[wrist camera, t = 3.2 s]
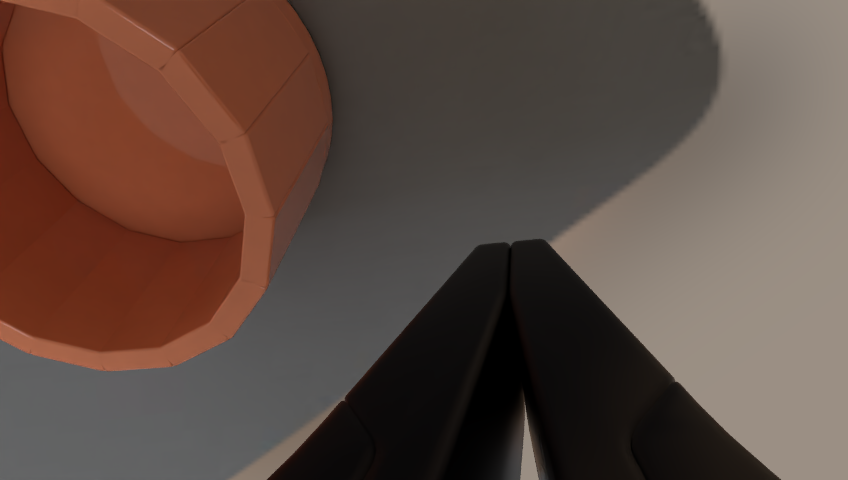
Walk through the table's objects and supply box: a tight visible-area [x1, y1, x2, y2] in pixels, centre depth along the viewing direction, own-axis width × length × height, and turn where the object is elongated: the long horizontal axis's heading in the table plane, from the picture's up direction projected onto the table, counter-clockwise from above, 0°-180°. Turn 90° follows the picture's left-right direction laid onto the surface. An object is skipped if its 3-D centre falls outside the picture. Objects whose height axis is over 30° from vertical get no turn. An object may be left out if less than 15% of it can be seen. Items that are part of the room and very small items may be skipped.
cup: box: [0, 0, 333, 371], centre depth 16 cm, size 9×9×6 cm
